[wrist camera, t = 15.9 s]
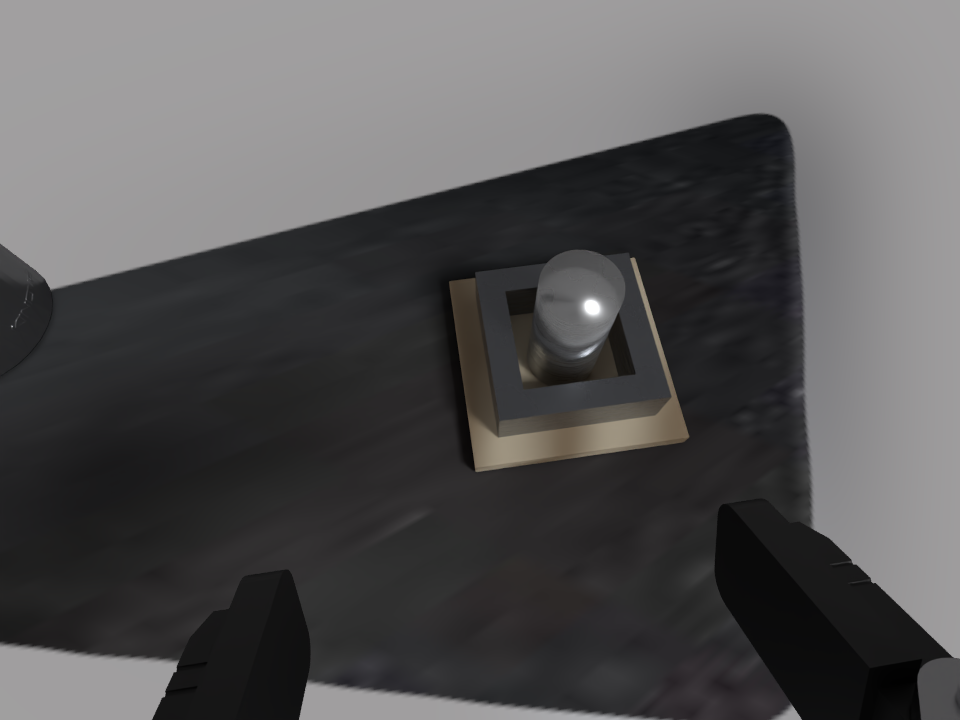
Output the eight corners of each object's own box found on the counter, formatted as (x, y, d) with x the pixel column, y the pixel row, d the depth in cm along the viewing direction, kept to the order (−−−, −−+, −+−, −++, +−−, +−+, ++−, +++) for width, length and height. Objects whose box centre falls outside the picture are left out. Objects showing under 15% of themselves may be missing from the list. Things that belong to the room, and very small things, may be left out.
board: (475, 472, 32) (475, 467, 31) (450, 289, 36) (448, 281, 36) (683, 442, 32) (689, 437, 31) (631, 266, 37) (634, 257, 36)
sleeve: (498, 437, 31) (499, 421, 29) (475, 298, 35) (475, 272, 32) (655, 415, 32) (671, 396, 29) (617, 280, 35) (628, 252, 33)
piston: (532, 392, 32) (546, 329, 25) (521, 330, 34) (532, 254, 27) (600, 384, 33) (634, 319, 25) (587, 323, 34) (614, 245, 27)
